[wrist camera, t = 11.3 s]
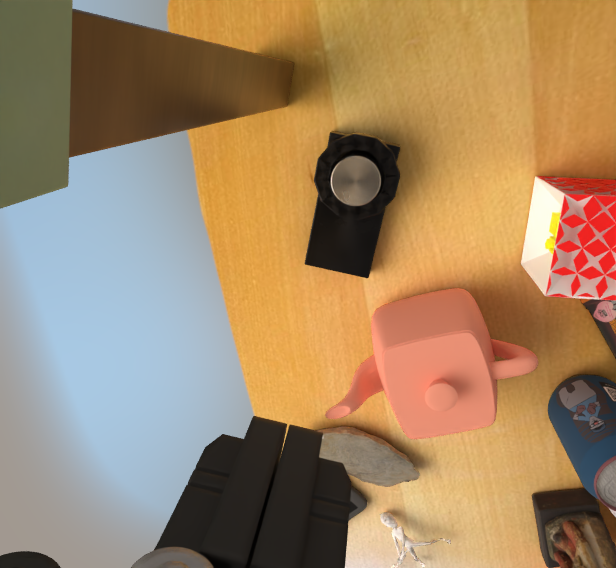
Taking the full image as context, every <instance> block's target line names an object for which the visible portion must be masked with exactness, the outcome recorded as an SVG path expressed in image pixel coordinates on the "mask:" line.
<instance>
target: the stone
mask: <svg viewBox="0 0 616 568" xmlns="http://www.w3.org/2000/svg"><path fill="white" fill-rule="evenodd" d="M315 431H319V432H323V437H322V443H321V449H320V454H319V457H320V458H324V459H328V460H332V461H336V462H340V463H343V464H344V467H345V469H346V471H347V474H349V475H352V476H354V477H356V478H358V479H360V480H361V481H364V482H368V483H372V484H375V485H379V486H385V487H390V486H393V485H396V484H398V483H401V482H404V481H405V482H409V481H411V480H417V479H418V478H419V476H420V473H419V472H418V471H416V470H415V469H414V465H413V463H412V462H411V461H410V460H409V459H408V456H407V455H405V454H403V453H401V452H399V451H398V450H396V449H395V448H394V447H393V446H391V445H390V444H388V443H387V442H385V441H384V440H383V439H381V438H378V437H376V436H373V435H369V434H367V433H366V432H364V431H361V430H358V429H357V428H354V427H345V426H341V427H337V428H327V429H321V430H315Z"/></svg>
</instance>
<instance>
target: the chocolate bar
mask: <svg viewBox="0 0 616 568" xmlns="http://www.w3.org/2000/svg"><path fill="white" fill-rule="evenodd" d="M580 301H581V302H582V304H583V305H584V306H585V307H586V309H588V310H589V311H590V313H591V315H592V317H593V319H594V320H595V322H596V324H597V326H598V328H599V329H600V331H601V333H602V335H603V337H604V338H605V340H606V342H607V344H608V346H609V347H610V349H611V351H612V353H613V355H614V356H615V358H616V301H613V300H598V299H582V298H580Z"/></svg>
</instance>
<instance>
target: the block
mask: <svg viewBox="0 0 616 568" xmlns="http://www.w3.org/2000/svg"><path fill="white" fill-rule="evenodd" d="M71 42H72V0H0V208H3V207H7V206H10V205H12V204H16V203H19V202H22V201H25V200H28V199H31V198H34V197H37V196H40V195H43V194H46V193H49V192H53V191H56V190H59V189H62V188H65V187H67V186H68V174H69V173H68V172H69V130H70V86H71Z"/></svg>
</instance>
